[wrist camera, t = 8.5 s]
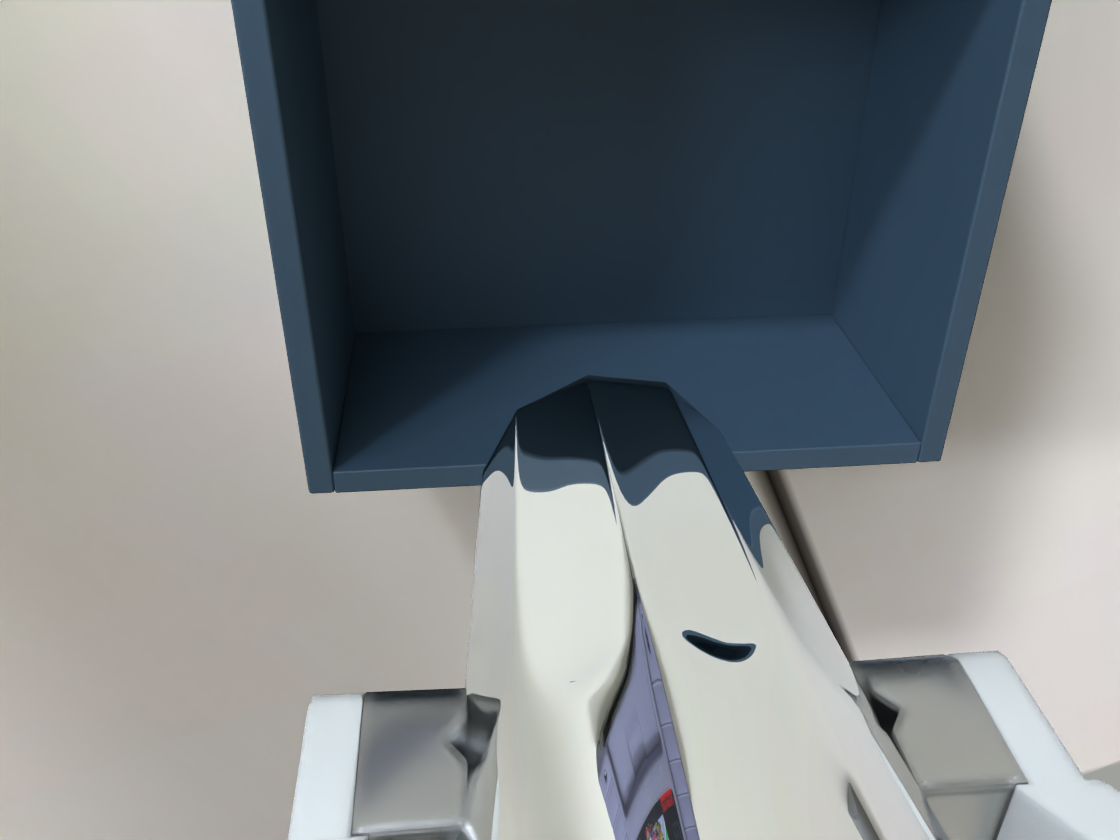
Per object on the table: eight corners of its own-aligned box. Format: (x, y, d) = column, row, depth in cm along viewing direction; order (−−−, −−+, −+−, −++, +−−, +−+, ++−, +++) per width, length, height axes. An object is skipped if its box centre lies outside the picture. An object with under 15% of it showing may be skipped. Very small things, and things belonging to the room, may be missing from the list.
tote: (338, 343, 30) (309, 494, 24) (271, -176, 23) (205, -156, 17) (842, 323, 31) (941, 462, 25) (924, -177, 24) (1091, -158, 18)
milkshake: (312, 451, 13) (67, 1658, 5) (692, 261, 12) (1223, 1356, 4) (486, 667, 16) (526, 1731, 7) (817, 522, 15) (1316, 1555, 6)
